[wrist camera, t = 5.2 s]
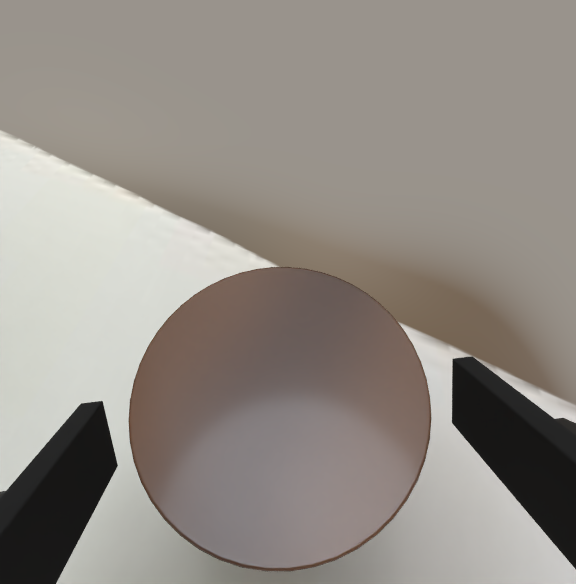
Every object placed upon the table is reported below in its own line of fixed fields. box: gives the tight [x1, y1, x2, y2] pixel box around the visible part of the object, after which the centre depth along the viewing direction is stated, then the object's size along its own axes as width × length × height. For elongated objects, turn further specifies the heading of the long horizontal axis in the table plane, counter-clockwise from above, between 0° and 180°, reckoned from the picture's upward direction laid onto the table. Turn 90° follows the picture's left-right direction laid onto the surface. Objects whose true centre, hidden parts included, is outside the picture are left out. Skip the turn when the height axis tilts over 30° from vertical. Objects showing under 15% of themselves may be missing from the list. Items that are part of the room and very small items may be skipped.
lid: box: [129, 267, 431, 571], centre depth 15 cm, size 9×9×9 cm
